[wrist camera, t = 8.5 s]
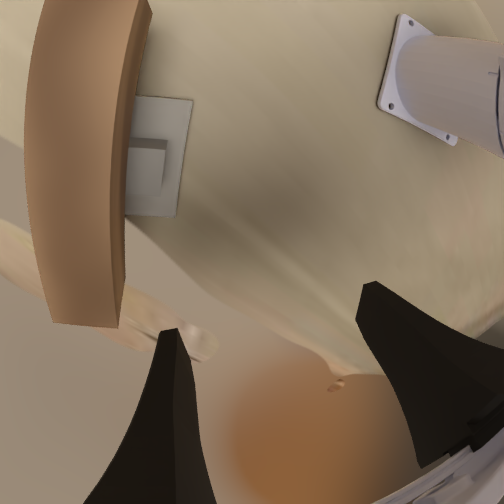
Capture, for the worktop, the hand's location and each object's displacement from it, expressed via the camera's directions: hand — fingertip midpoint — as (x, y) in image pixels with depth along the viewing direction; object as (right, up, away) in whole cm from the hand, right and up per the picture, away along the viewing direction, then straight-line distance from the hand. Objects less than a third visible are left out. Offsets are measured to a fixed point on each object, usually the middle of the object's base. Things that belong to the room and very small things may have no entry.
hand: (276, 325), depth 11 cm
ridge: (-9, +8, +4) cm, 13 cm away
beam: (-8, +7, +1) cm, 11 cm away
